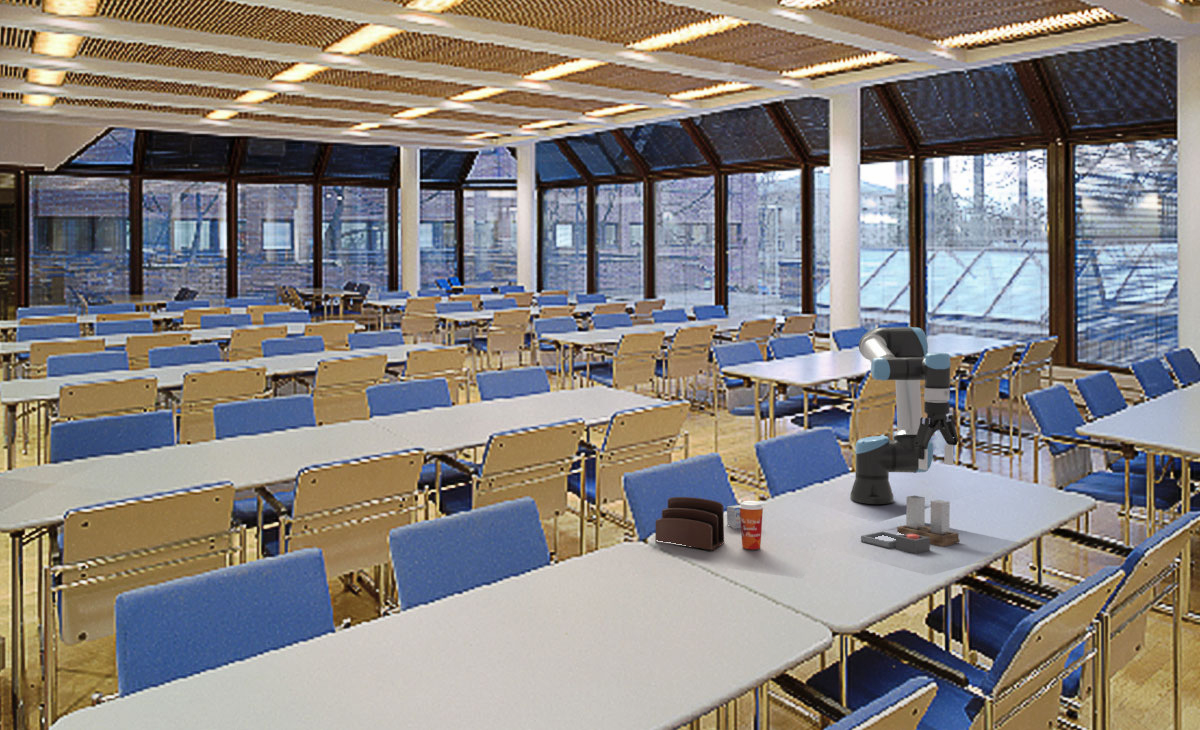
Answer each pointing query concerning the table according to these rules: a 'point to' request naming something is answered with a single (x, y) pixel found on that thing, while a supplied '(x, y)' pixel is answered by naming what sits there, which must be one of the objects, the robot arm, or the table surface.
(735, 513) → the medicine box
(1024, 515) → the table surface
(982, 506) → the table surface
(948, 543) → the wooden tray
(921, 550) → the button housing
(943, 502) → the block
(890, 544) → the tray
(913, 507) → the billet
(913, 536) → the button
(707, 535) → the letter holder
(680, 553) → the table surface
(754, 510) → the paper cup
